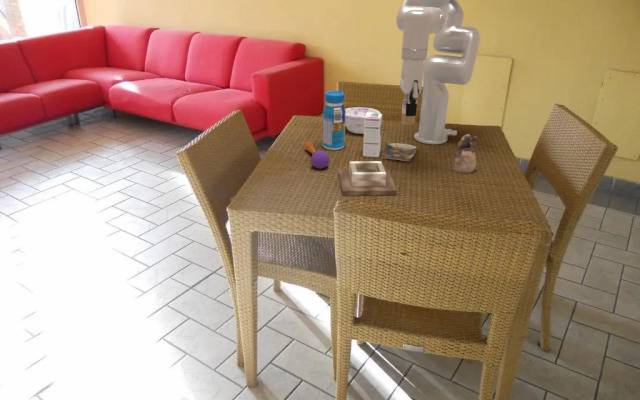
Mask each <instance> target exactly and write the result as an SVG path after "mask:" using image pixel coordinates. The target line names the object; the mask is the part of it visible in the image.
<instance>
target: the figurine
mask: <svg viewBox="0 0 640 400" xmlns="http://www.w3.org/2000/svg"><path fill="white" fill-rule="evenodd" d="M477 137H478V136H476V135H474V136H472V135H471V134H469V133H467V134H465V135H463V136H462V137H461V138H460V140H459V141H458V142H457V148H456V150H457V152H456V155H455V159H454V161H453V166H452V169H453V170H454V172H458V173H463V174H468V173H470V174H471V173H473V172H474V171H475V170H476V166H477V165H476V164H477V163H476V162H477V161H476V159H477V158H476V149H477V147H478V146H477V145H478V144H477V142H476V139H478V138H477Z"/></svg>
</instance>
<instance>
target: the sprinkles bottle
mask: <svg viewBox="0 0 640 400" xmlns="http://www.w3.org/2000/svg"><path fill="white" fill-rule="evenodd" d="M410 93H413V91H410ZM412 96H413V95H410V98H411V97H412ZM406 103H408V93H407V94H405V93H404V92H403V98H402V105H401V106H402V107H401V120H400V123H402V124H403V125H406V126H410V125H414V124H416V116H406V115H405V114H406Z"/></svg>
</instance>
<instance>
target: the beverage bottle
mask: <svg viewBox="0 0 640 400" xmlns="http://www.w3.org/2000/svg"><path fill="white" fill-rule="evenodd" d="M324 96H325V97H324V98H325V99H324V100H325V105H324V108H323V110H322V113H323V116H322V122H323V123H322V131H323V132H322V147H323V148H324V149H327V150H331V151H335V150H336V151H337V150H341V149H344V147H346V144H345V137H346V136H345V135H346V134H345V133H346V126H345V122H346V117H345V114H346V110H345V109H346V107H345V106H344V102H345V93H344V92H343V91H341V90H329V91H326V92H325V94H324Z"/></svg>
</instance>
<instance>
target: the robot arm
mask: <svg viewBox="0 0 640 400" xmlns="http://www.w3.org/2000/svg"><path fill="white" fill-rule="evenodd" d="M464 13H465V12H464V10H463V8H462V7H461V4H460V3H459V2H458V0H403V2H402V3H401V4H400V7H399V9H398V11H397V14H396V19H395V20H396V27H397V29H399V30H400V31H402V33H403V34H402V44H401V45H402V46H401V57H400V60H402V64H401V72H400V78H399V79H400V80H399V87H400V90H401V91H402V92H403V94H404V93H405V94H407V93H408V103H406V114H405V115H406V116H415V117H416V116H417V109H418V97H419V95H420V94H421V93H422V96H421V97H422V98H421V105H420V106H421V107H420V117H419V126H418V127H419V128H418V131H417V132H415V133H414V135H413V137H414V140H415V141H417V142H418V143H422V144H426V145H441V144H445V143H447V142H448V136H457V135H458V130H453V129H451V128H446V122H447V121H446V120H447V114H448V103H449V98H450V96H449V94H450V93H449V90H448V88H447V86H446V85H445V84H449V85H458V86H459V85H460V86H463V85H467V84H469V83H470V82H471V79H472V76H473V71H474V68H475V65H476V64H475V63H476V59H477V56H478V51H479V47H480V37H481V35H480V32H479V29H477V28H476V27H472V26H462V24H463V21H464V17H465V14H464ZM430 34H431V35H433V34H434V37H433V44H432V45H433V49H434V50H435V51H436V52H437V53H442V54H431V55H428V51H429V50H428V47H429V40H430V39H429V38H430ZM445 54H447V55H445ZM448 54H449V55H448ZM451 54H452V55H451ZM456 55H457V56H456ZM458 55H461V56H458ZM410 91H413V93H410ZM410 95H413V96H412V97H411V98H410Z"/></svg>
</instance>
